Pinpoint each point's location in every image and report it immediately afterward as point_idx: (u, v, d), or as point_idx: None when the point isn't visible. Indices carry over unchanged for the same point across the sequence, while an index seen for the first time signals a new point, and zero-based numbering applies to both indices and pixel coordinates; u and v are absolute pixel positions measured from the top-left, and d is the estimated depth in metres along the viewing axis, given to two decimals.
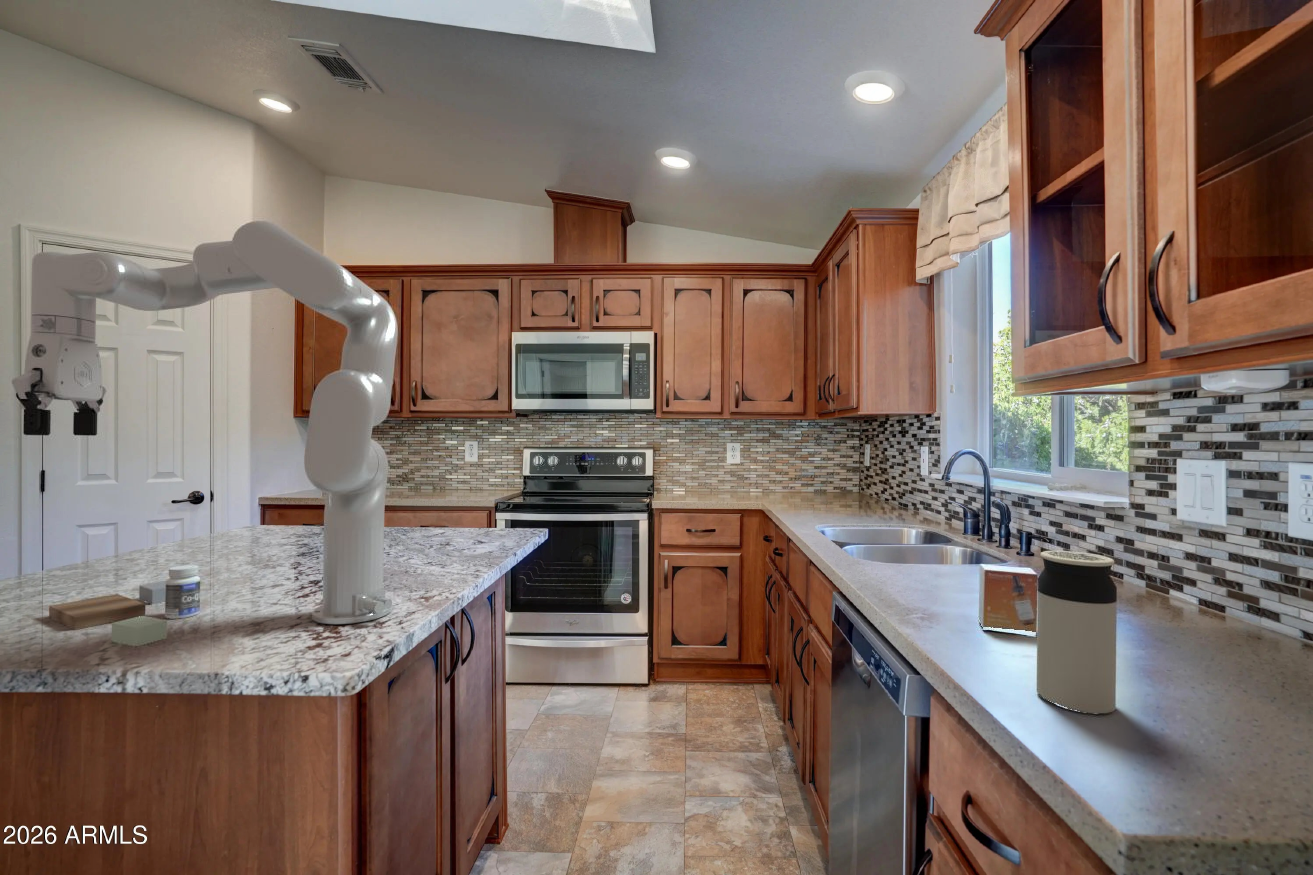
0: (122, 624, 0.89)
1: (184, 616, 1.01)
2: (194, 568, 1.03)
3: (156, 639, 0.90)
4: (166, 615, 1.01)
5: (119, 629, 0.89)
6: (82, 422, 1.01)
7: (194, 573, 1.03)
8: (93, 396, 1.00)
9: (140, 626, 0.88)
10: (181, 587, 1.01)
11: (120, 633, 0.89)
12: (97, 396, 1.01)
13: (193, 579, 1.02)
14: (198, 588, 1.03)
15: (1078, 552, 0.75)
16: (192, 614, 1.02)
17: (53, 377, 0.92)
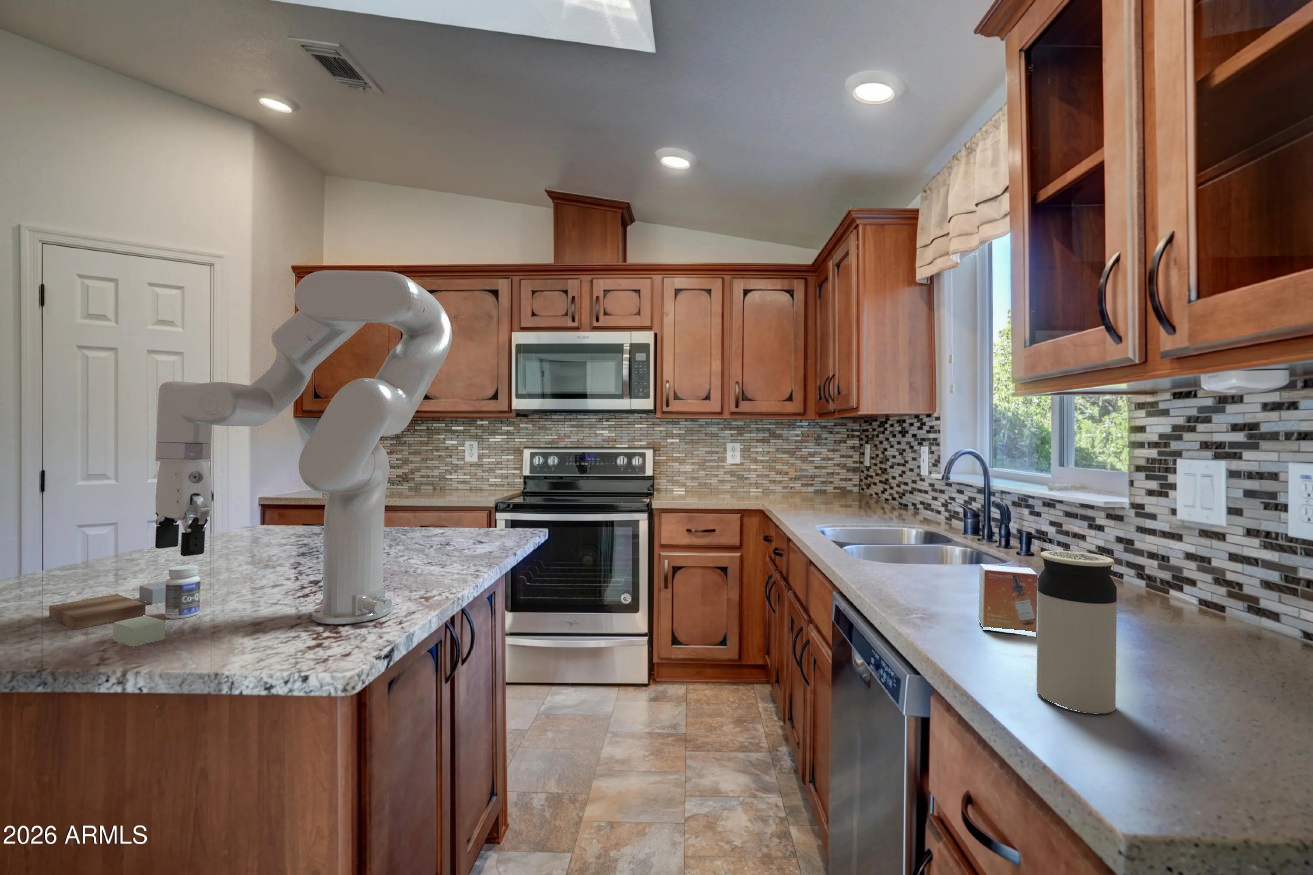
0: (122, 624, 0.89)
1: (184, 616, 1.01)
2: (194, 568, 1.03)
3: (154, 640, 0.90)
4: (166, 615, 1.01)
5: (119, 629, 0.89)
6: (167, 535, 1.05)
7: (194, 573, 1.03)
8: None
9: (138, 626, 0.88)
10: (181, 587, 1.01)
11: (120, 633, 0.89)
12: None
13: (193, 579, 1.02)
14: (198, 588, 1.03)
15: (1078, 552, 0.75)
16: (192, 614, 1.02)
17: (209, 500, 1.02)
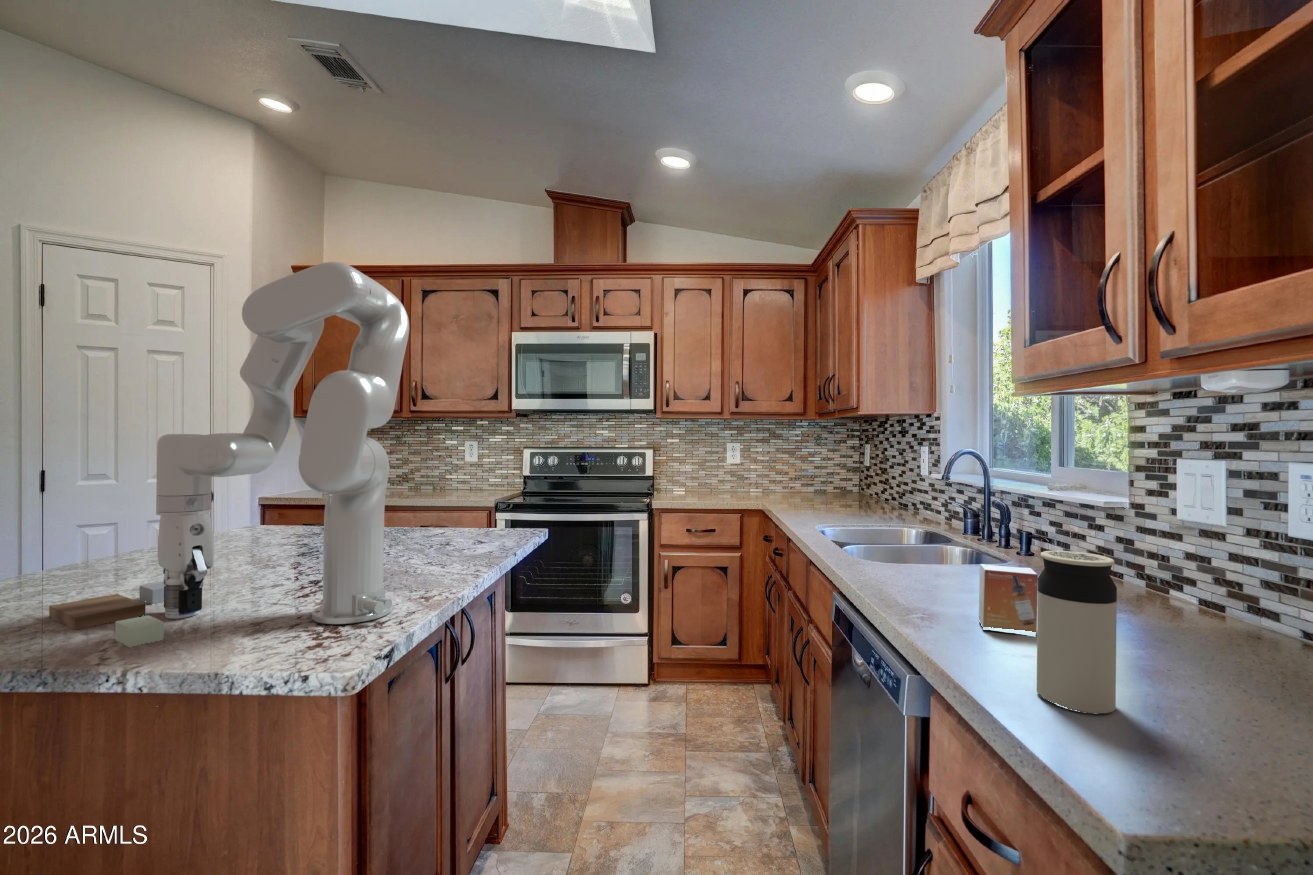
0: (122, 623, 0.89)
1: (184, 616, 1.01)
2: None
3: (152, 640, 0.89)
4: (166, 615, 1.01)
5: (120, 628, 0.89)
6: None
7: None
8: None
9: (135, 627, 0.88)
10: None
11: (120, 632, 0.89)
12: None
13: None
14: None
15: (1078, 552, 0.75)
16: (192, 614, 1.02)
17: (211, 551, 1.02)
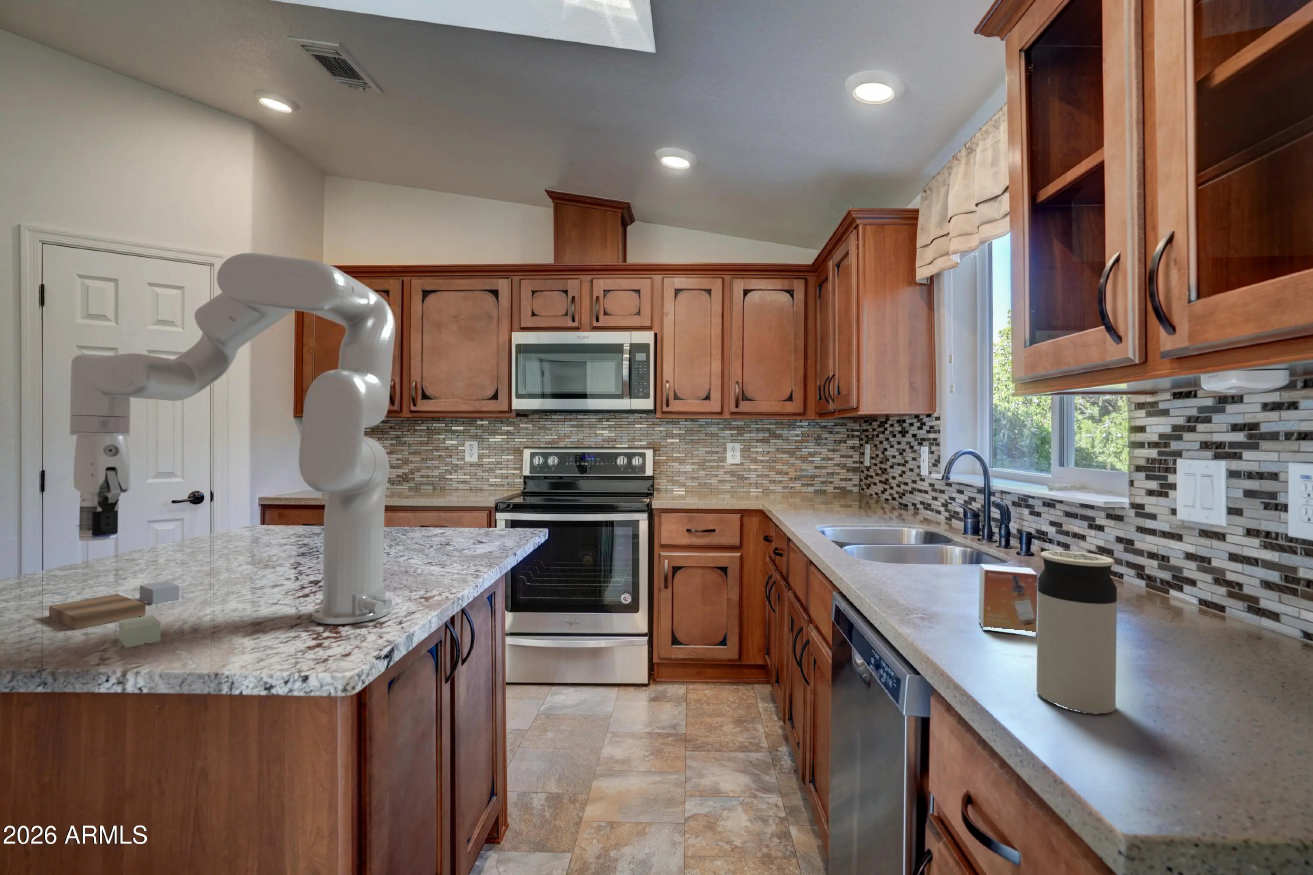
0: (123, 623, 0.90)
1: (98, 538, 1.00)
2: None
3: (148, 641, 0.89)
4: (79, 537, 0.99)
5: (120, 628, 0.90)
6: None
7: None
8: None
9: (131, 627, 0.88)
10: None
11: (121, 632, 0.89)
12: None
13: None
14: None
15: (1078, 552, 0.75)
16: (107, 537, 1.01)
17: (127, 474, 1.01)
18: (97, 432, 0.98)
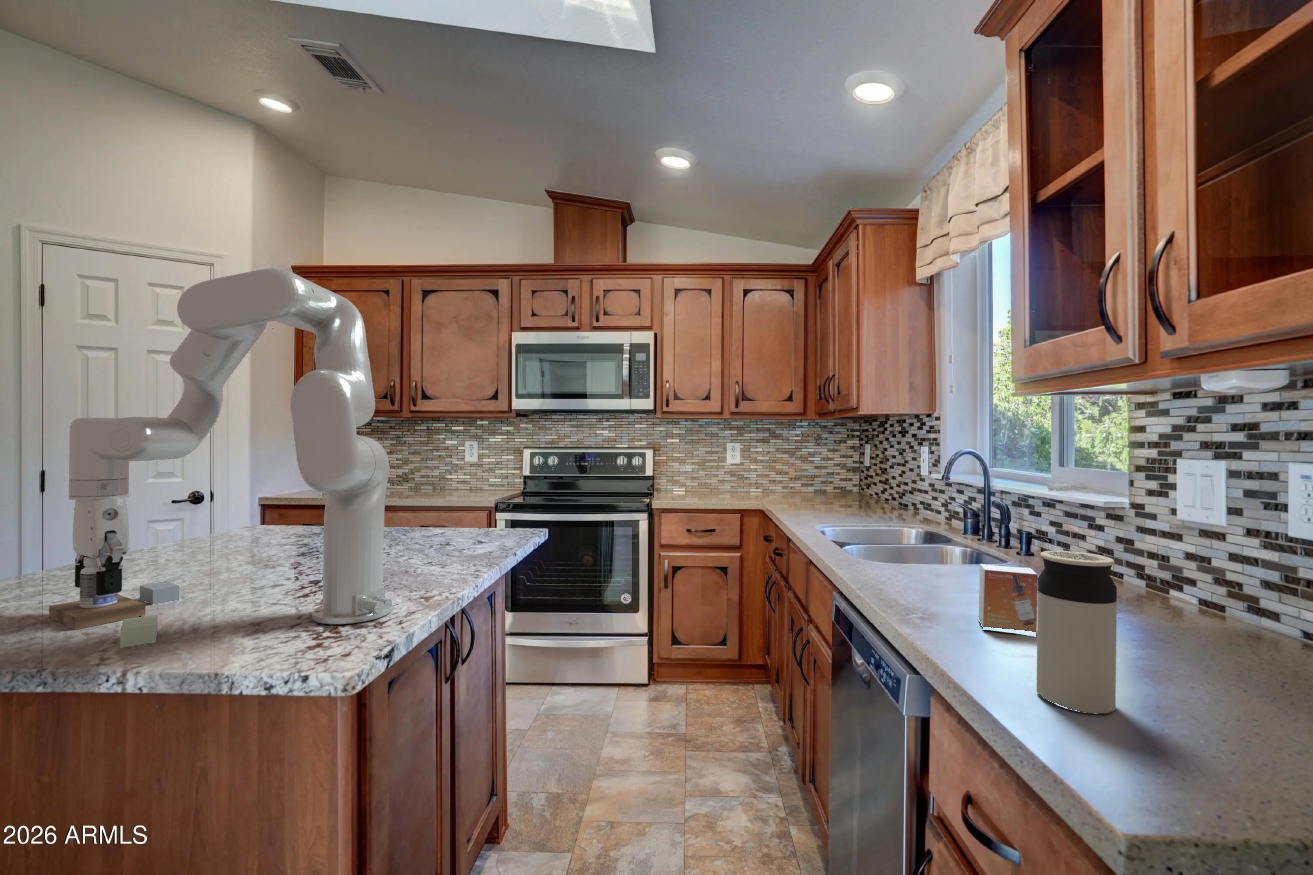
0: (124, 622, 0.90)
1: (99, 605, 1.00)
2: None
3: (143, 642, 0.88)
4: (80, 604, 0.99)
5: None
6: None
7: None
8: None
9: (126, 627, 0.87)
10: None
11: None
12: None
13: None
14: None
15: (1078, 552, 0.75)
16: (108, 603, 1.01)
17: (126, 537, 1.01)
18: (96, 496, 0.98)
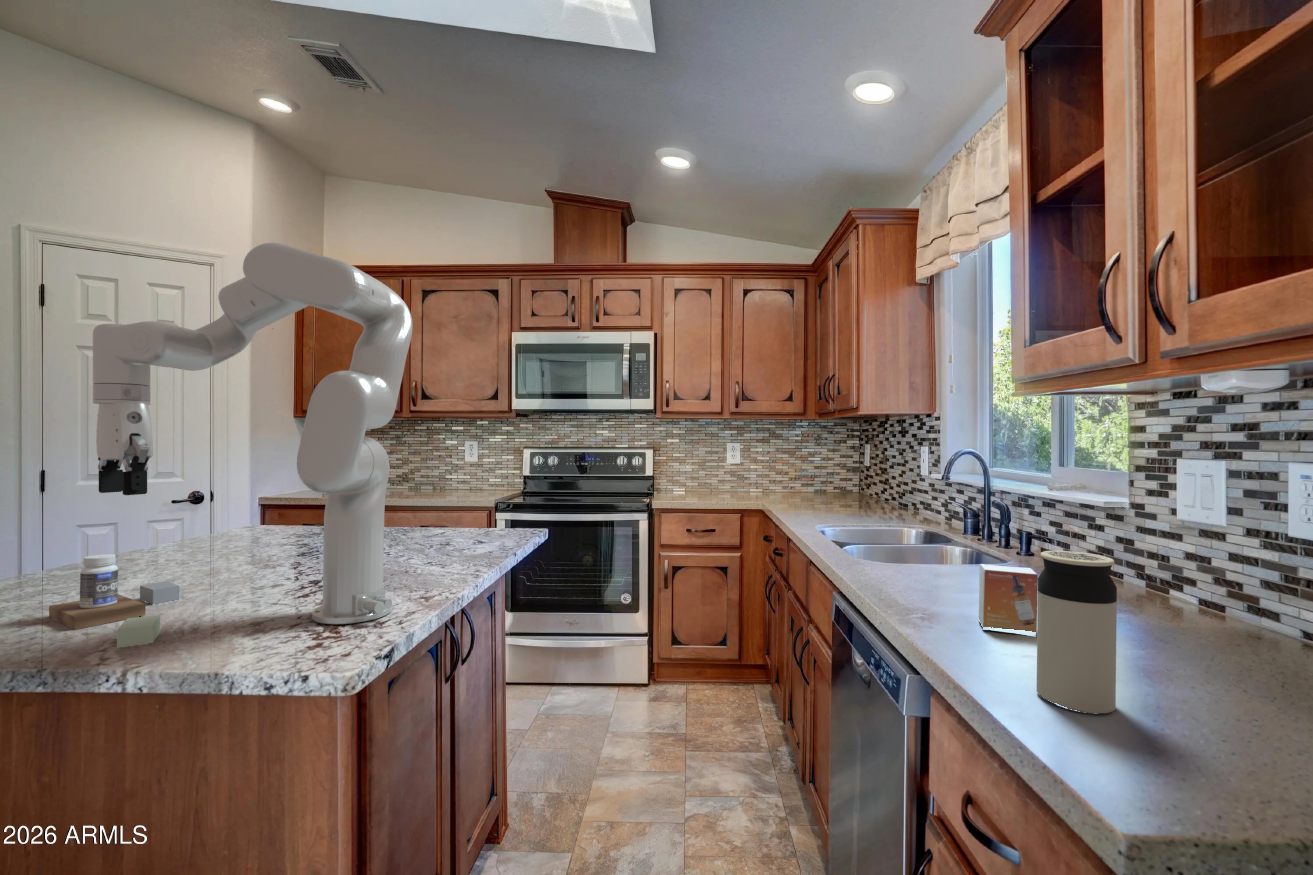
0: (125, 622, 0.90)
1: (99, 605, 1.00)
2: (110, 557, 1.01)
3: (140, 643, 0.88)
4: (80, 604, 0.99)
5: None
6: (110, 480, 1.05)
7: (111, 562, 1.01)
8: None
9: (123, 627, 0.87)
10: (95, 575, 0.99)
11: None
12: None
13: (109, 568, 1.01)
14: (115, 577, 1.02)
15: (1078, 552, 0.75)
16: (108, 603, 1.01)
17: (150, 441, 1.03)
18: (120, 399, 1.01)
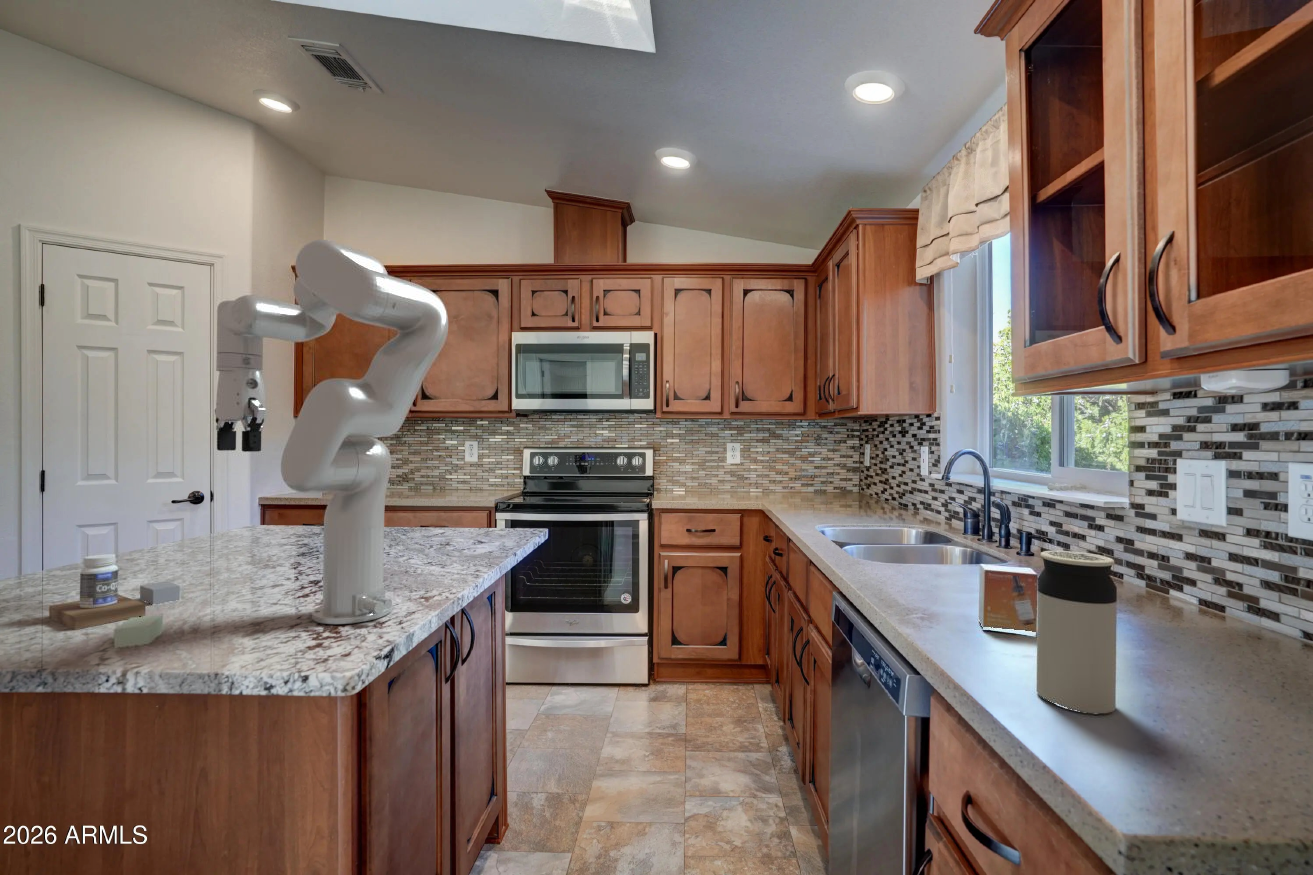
0: (126, 621, 0.90)
1: (99, 605, 1.00)
2: (110, 557, 1.01)
3: (136, 643, 0.88)
4: (80, 604, 0.99)
5: None
6: (226, 439, 1.19)
7: (111, 562, 1.01)
8: None
9: (121, 627, 0.87)
10: (95, 575, 0.99)
11: None
12: None
13: (109, 568, 1.01)
14: (115, 577, 1.02)
15: (1078, 552, 0.75)
16: (108, 603, 1.01)
17: (264, 405, 1.16)
18: (240, 367, 1.14)
